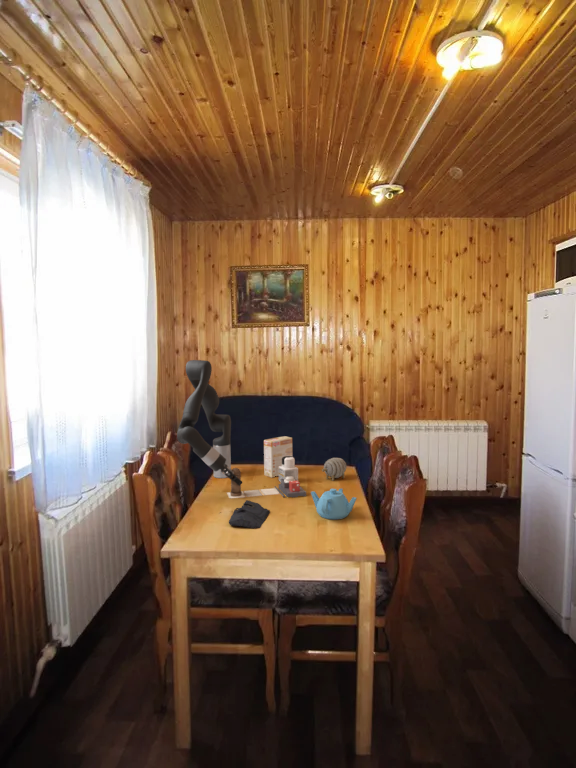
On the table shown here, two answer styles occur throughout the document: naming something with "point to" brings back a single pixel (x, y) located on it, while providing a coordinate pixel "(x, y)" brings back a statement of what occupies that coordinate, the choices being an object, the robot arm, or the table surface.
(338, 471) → the toy sheep
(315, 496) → the teapot
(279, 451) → the coffeecake box
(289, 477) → the dome
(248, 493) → the board
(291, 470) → the container
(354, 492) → the table surface
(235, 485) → the pawn
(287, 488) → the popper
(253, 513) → the black folded cloth
